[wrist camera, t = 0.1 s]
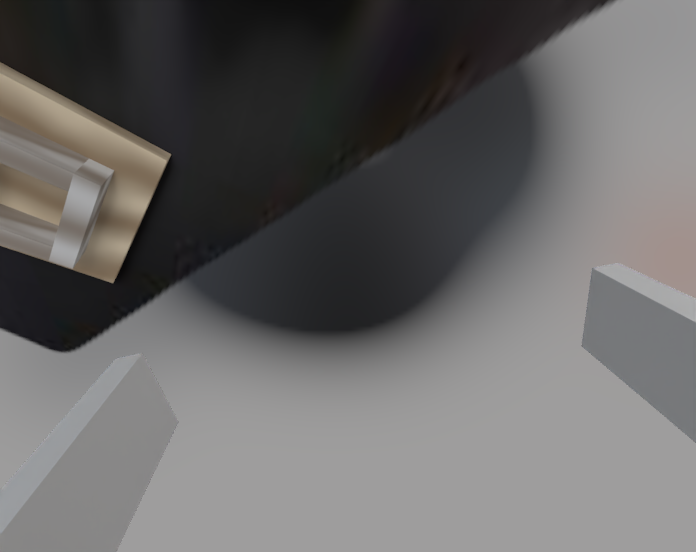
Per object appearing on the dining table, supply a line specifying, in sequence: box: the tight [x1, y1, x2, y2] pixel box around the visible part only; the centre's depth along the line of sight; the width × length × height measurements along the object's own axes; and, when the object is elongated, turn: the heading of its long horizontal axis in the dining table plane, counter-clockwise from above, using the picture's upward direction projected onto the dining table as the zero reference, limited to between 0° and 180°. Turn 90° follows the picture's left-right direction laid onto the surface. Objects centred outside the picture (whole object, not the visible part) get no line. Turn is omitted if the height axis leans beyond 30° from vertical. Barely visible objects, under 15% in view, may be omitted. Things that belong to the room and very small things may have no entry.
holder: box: [0, 62, 171, 283], centre depth 31 cm, size 18×18×4 cm
